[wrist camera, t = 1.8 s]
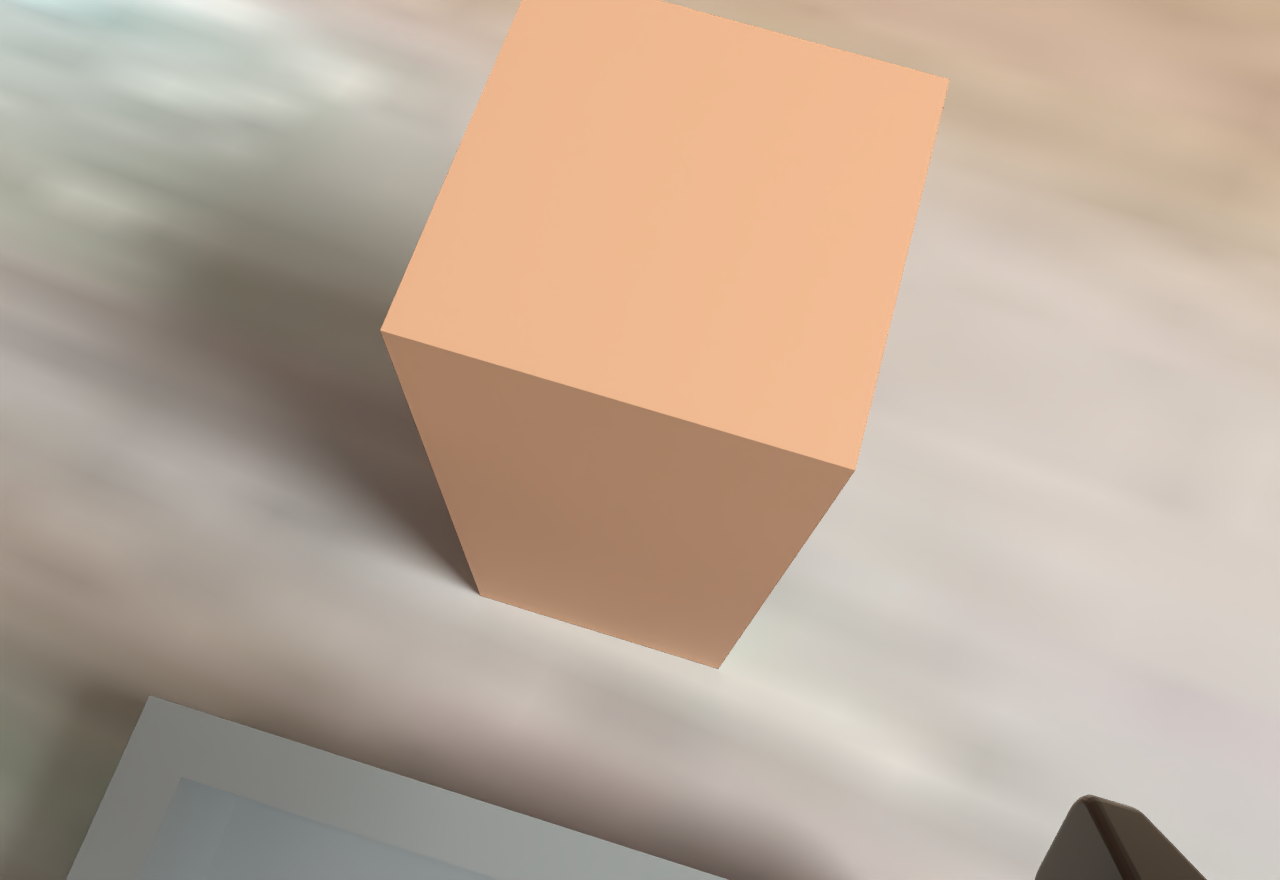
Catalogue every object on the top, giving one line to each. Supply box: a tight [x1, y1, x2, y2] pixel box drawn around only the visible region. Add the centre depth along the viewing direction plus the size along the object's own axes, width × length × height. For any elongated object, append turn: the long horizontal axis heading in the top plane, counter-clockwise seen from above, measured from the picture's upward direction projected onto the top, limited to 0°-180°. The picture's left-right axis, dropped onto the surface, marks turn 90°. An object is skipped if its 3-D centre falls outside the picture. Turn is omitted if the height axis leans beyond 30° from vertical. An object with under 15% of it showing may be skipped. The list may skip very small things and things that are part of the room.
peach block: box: [380, 0, 950, 669], centre depth 18 cm, size 5×5×12 cm
